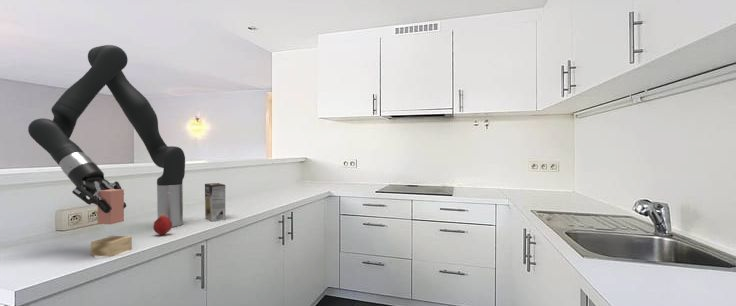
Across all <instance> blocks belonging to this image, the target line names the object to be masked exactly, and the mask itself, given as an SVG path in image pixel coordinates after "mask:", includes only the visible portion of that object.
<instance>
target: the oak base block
mask: <svg viewBox="0 0 736 306" xmlns="http://www.w3.org/2000/svg"><path fill="white" fill-rule="evenodd" d="M132 242H133V241H132V236H131V235H130V236H128V235H127V236H126V235H110V236H107V237H103V238H100V239H97V240H92V241H90V255H91V256H94V255H97V256H107V257H113V256H117V255H116V254H118V255H120V254H119V253H122V252H125V251H127V250H130V251H131V250H132V248H133V246H132Z"/></svg>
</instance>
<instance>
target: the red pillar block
mask: <svg viewBox="0 0 736 306" xmlns="http://www.w3.org/2000/svg"><path fill="white" fill-rule="evenodd" d="M124 191H125V189H111V190H101V191H100V195H101V196H102V197H103V200H105V201H106V202H107V203H108V204H109V205H110V206H111V207H112V210H111V211H110V212H109V213H105V212H103V211H102V210H101V209H100V208H99V207H98V206H97V224H98V225H114V224H119V223H122V222H125V208H124V202H125V197H124V196H125V192H124Z"/></svg>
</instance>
